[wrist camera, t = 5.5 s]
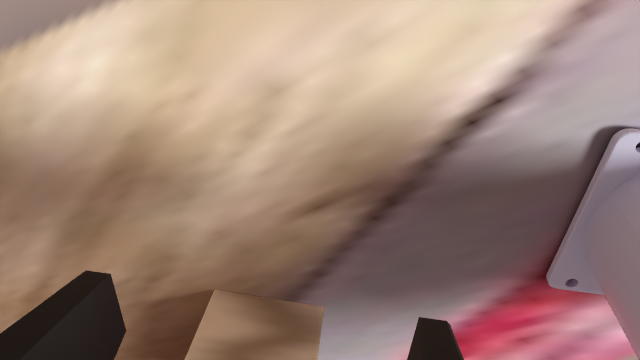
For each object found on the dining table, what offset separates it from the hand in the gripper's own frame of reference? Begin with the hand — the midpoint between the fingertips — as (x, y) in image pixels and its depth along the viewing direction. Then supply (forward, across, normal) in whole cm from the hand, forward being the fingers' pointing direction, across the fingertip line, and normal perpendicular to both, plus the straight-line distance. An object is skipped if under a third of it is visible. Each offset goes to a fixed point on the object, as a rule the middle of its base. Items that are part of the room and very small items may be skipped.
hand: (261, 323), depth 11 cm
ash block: (+10, +2, +13) cm, 16 cm away
